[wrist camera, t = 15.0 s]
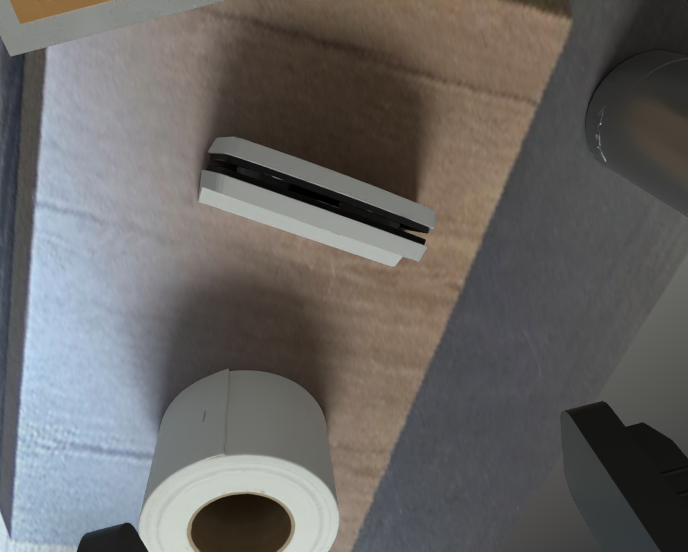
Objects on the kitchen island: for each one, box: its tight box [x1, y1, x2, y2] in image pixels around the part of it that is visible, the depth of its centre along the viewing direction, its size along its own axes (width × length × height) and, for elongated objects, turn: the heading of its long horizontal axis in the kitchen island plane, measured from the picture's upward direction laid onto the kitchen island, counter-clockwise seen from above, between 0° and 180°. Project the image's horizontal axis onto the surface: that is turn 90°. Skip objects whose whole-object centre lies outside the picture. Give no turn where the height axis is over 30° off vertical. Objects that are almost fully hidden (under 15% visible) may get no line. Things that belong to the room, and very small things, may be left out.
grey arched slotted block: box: [198, 136, 436, 267], centre depth 43 cm, size 17×5×10 cm, turn 67°
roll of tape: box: [139, 369, 339, 552], centre depth 52 cm, size 16×15×11 cm
